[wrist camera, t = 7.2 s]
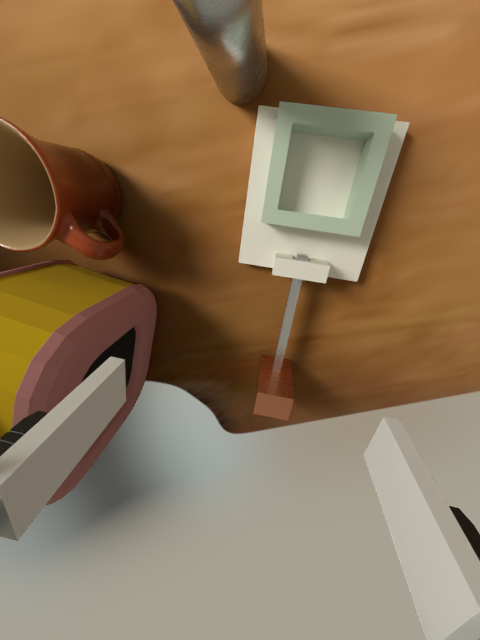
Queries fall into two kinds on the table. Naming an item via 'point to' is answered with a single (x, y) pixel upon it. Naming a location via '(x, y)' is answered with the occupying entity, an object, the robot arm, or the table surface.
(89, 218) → the mug
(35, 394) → the alarm clock
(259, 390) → the pin
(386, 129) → the dock
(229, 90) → the silver metal cylinder
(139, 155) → the table surface
